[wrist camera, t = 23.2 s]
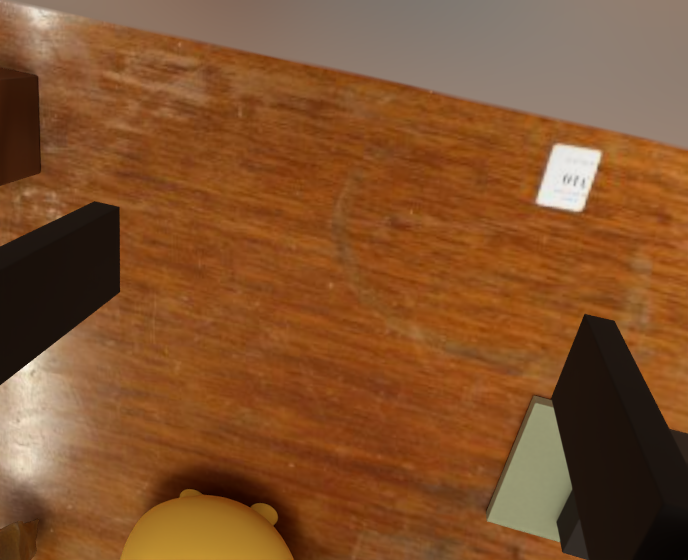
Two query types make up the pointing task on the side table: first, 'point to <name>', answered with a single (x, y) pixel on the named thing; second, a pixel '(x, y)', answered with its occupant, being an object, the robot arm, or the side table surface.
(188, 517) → the teapot
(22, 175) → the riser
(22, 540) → the decorative stone
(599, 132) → the side table surface
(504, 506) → the base mat
